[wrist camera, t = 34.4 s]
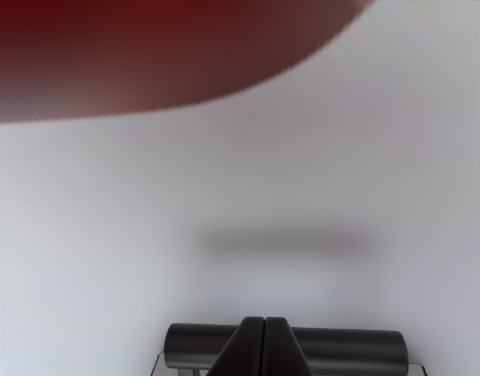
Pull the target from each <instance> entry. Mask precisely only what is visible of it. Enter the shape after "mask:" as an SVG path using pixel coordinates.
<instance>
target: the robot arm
mask: <svg viewBox="0 0 480 376" xmlns="http://www.w3.org/2000/svg"><path fill="white" fill-rule="evenodd" d="M205 376H314V375H313V373H312V371H311V369H310V366H309V364H308V362H307V360H306V358H305V356H304V354H303V352H302V350H301V348H300V346H299V344H298V342H297V340H296V338H295V336H294V334H293V332H292V330H291V328H290V326H289V324H288V322H287V320H286V319H285V318H284V317H267V318H266V319H264V318H263V317H249V316H248V317H245V318H244V319H243V320H242V322H241V323H240V325H239V326H238V328H237V329H236V331H235V332H234V334H233V335H232V336H231V338H230V339H229V341H228V342H227V344H226V345H225V347H224V348H223V350H222V351H221V353H220V354H219V356H218V357H217V359H216V360H215V362H214V363H213V365H212V366H211V367H210V369H209V370H208V372H207V373H206V375H205Z"/></svg>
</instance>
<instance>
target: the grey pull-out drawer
mask: <svg viewBox="0 0 480 376" xmlns="http://www.w3.org/2000/svg"><path fill="white" fill-rule="evenodd" d="M237 328H238V325H209V324H180V323H174V324H172V325H170V327H169V329H168V331H167V334H166V338H165V344H164V353H160V356H159V358H158V361H157V364H156V366H155V369H154V372H153V374H152V376H205V375H206V373H207V372H208V370H209V369H210V367H211V366H212V365H213V363H214V362H215V360H216V359H217V357H218V356H219V354H220V353H221V351H222V350H223V348H224V347H225V345H226V344H227V342H228V341H229V339H230V338H231V336H232V335H233V334H234V332H235V331H236V329H237ZM290 328H291V330H292V332H293V334H294V336H295V338H296V340H297V342H298V344H299V346H300V348H301V350H302V352H303V354H304V356H305V358H306V360H307V362H308V364H309V366H310V369H311V371H312V373H313V375H314V376H425V375H424V372H423V370H422V367H421V365H420V364H409V359H408V352H407V347H406V343H405V340H404V338H403V336H402V334H401V333H400V332H398V331H385V330H356V329H327V328H297V327H290Z"/></svg>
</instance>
